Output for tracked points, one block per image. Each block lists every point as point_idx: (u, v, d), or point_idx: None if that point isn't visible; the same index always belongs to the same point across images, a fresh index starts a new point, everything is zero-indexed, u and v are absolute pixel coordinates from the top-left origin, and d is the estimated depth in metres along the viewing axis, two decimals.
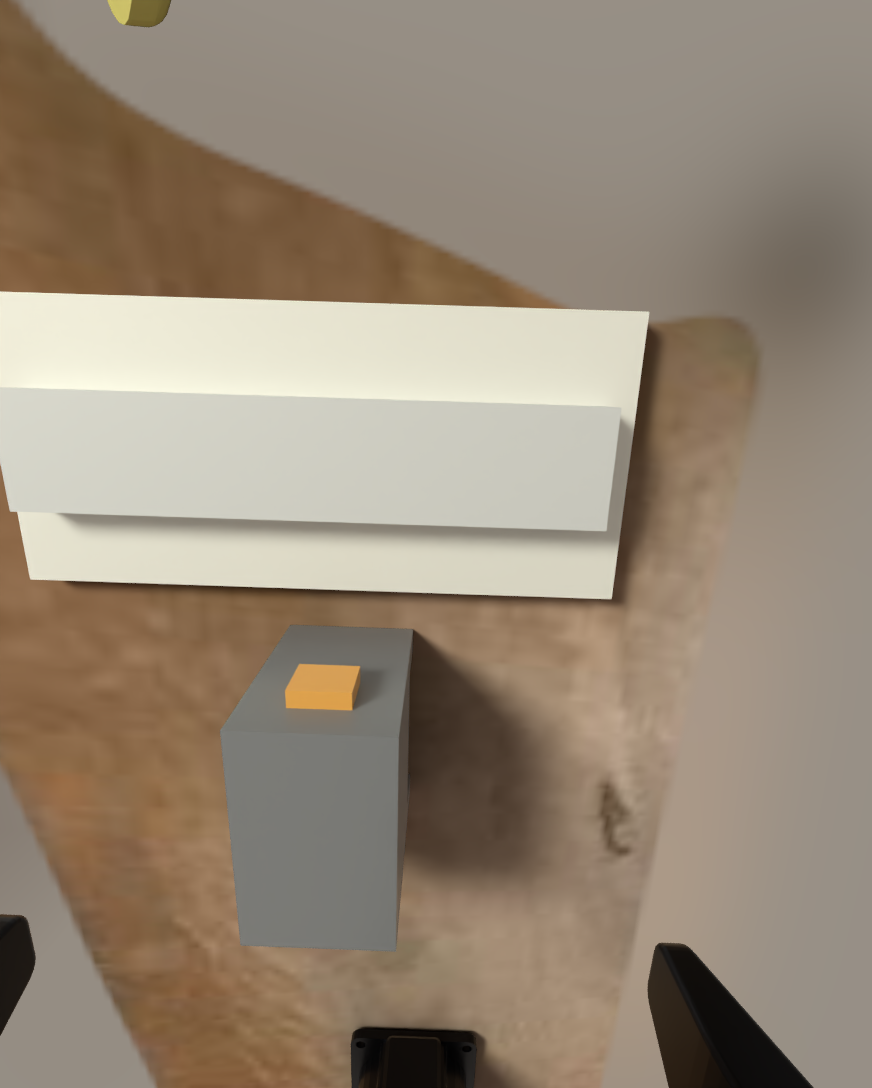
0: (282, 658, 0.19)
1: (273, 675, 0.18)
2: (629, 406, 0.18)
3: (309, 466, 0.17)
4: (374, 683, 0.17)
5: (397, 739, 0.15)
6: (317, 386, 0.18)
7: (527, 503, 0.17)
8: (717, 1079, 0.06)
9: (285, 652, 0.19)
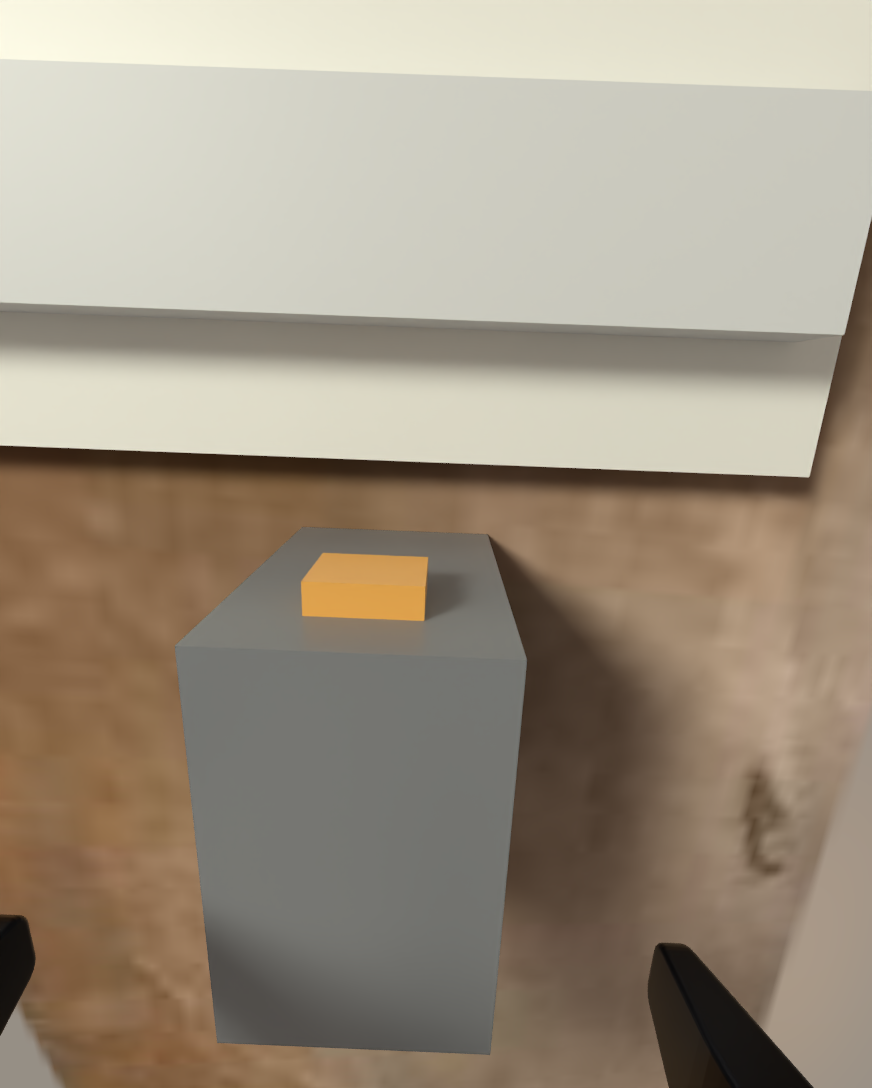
0: (292, 558, 0.12)
1: (278, 576, 0.10)
2: None
3: (343, 209, 0.10)
4: (451, 588, 0.10)
5: (524, 664, 0.07)
6: None
7: (715, 283, 0.10)
8: (717, 1079, 0.06)
9: (296, 552, 0.12)
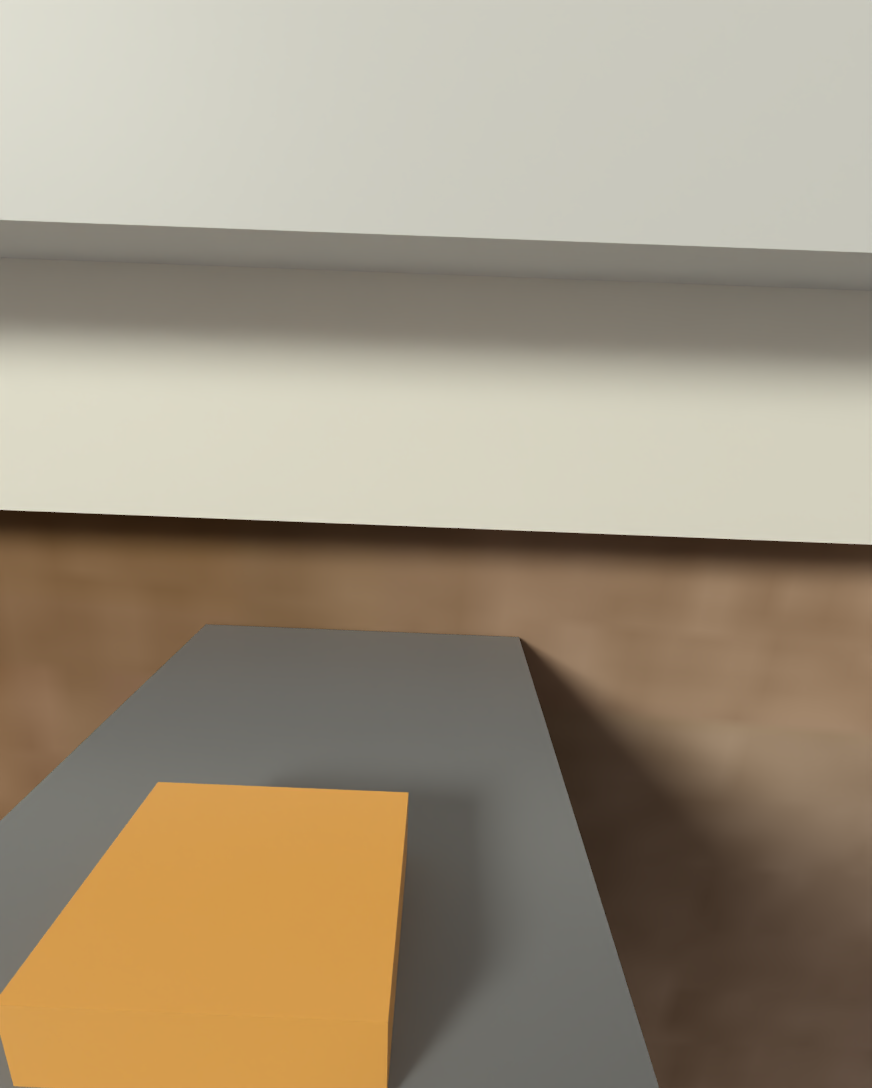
0: (140, 733, 0.06)
1: (70, 815, 0.05)
2: None
3: None
4: (463, 859, 0.04)
5: None
6: None
7: None
8: None
9: (159, 709, 0.06)
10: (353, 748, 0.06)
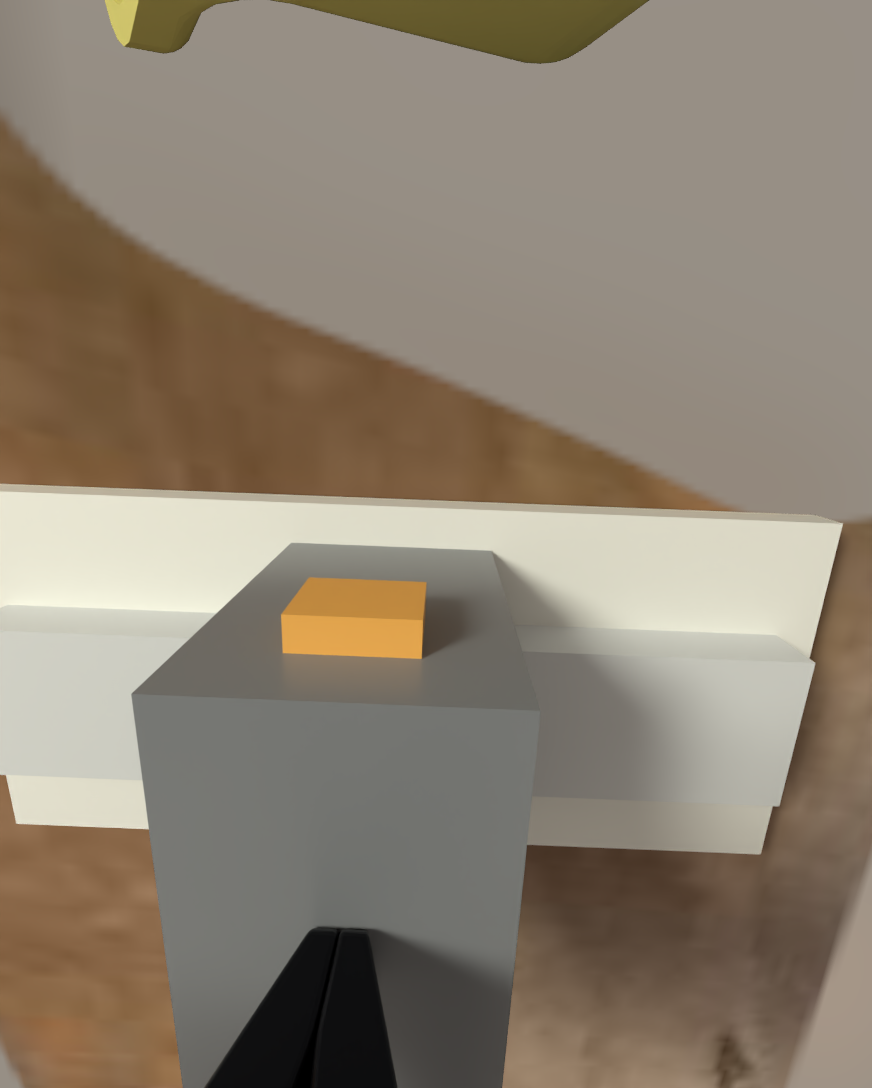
0: (277, 580, 0.10)
1: (259, 602, 0.09)
2: (805, 635, 0.14)
3: None
4: (452, 616, 0.09)
5: (538, 716, 0.06)
6: None
7: (677, 774, 0.13)
8: (313, 1061, 0.06)
9: (282, 573, 0.11)
10: None
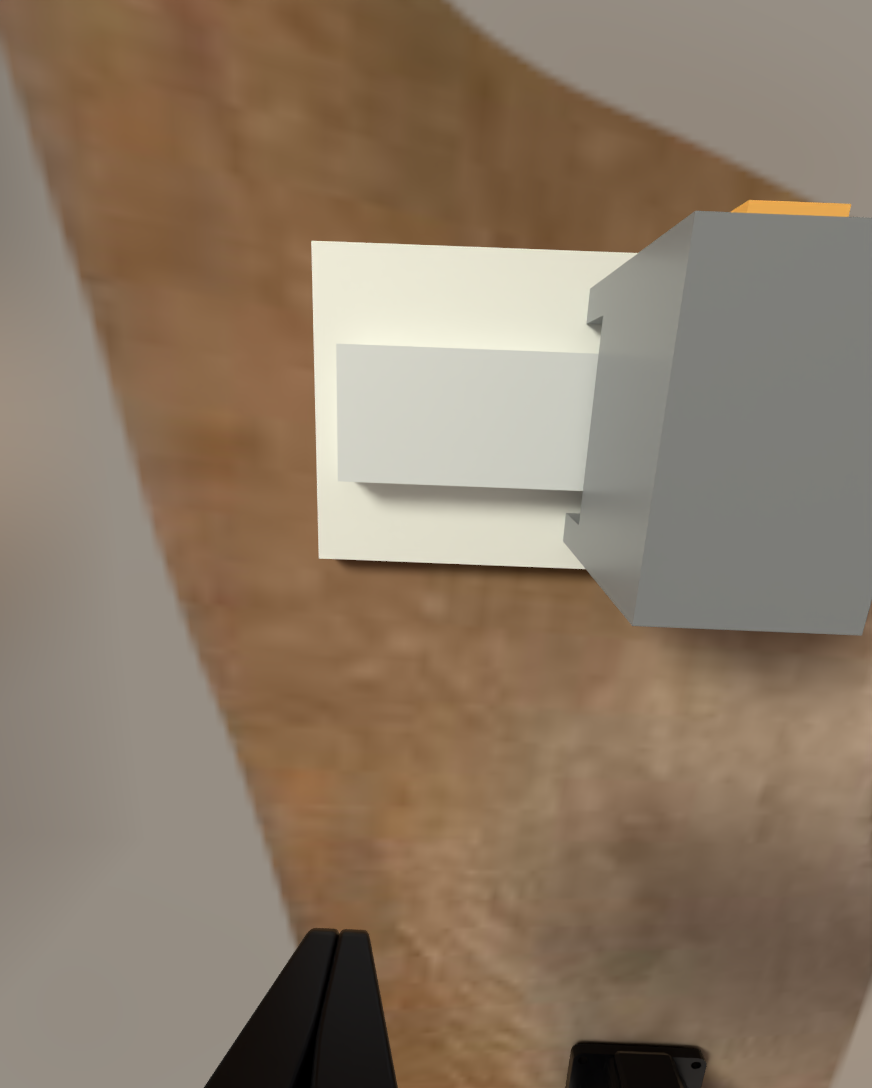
0: None
1: None
2: None
3: None
4: None
5: None
6: None
7: None
8: (313, 1061, 0.06)
9: None
10: None
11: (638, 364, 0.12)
